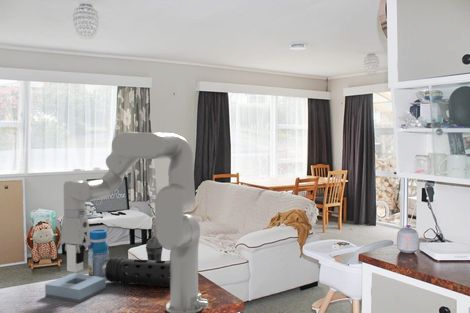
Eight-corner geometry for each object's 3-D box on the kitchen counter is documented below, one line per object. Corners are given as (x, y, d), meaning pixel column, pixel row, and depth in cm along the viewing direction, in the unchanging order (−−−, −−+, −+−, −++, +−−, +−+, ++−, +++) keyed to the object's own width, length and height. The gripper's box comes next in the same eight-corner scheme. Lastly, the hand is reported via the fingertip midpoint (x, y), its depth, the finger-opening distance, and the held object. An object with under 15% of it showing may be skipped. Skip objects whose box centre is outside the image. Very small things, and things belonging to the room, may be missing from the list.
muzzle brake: (168, 291, 156) (168, 264, 155) (100, 287, 161) (100, 260, 161) (177, 283, 165) (176, 257, 165) (112, 279, 171) (112, 254, 170)
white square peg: (83, 269, 156) (82, 239, 155) (75, 272, 152) (75, 242, 152) (74, 267, 157) (74, 238, 157) (66, 270, 153) (66, 241, 153)
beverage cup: (142, 275, 174) (142, 228, 174) (151, 270, 181) (150, 225, 181) (158, 277, 172) (157, 229, 172) (166, 271, 179) (165, 226, 179)
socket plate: (106, 289, 158) (105, 277, 158) (79, 302, 145) (79, 289, 145) (73, 284, 164) (73, 273, 164) (45, 296, 151) (45, 284, 151)
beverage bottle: (102, 283, 165) (101, 233, 165) (83, 281, 168) (82, 232, 167) (113, 276, 174) (112, 229, 173) (95, 274, 176) (95, 228, 175)
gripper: (99, 213, 154) (99, 261, 155) (64, 210, 160) (65, 256, 161) (85, 216, 147) (85, 267, 148) (49, 213, 153) (50, 262, 154)
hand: (75, 261), depth 154 cm, fingers closed on white square peg, 4 cm apart
